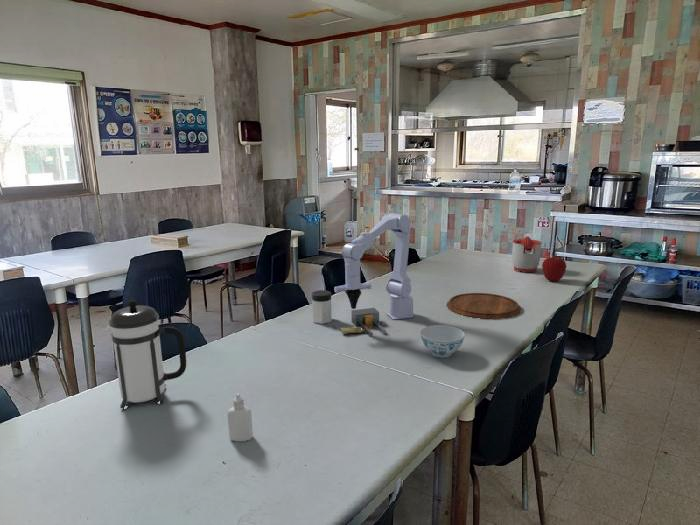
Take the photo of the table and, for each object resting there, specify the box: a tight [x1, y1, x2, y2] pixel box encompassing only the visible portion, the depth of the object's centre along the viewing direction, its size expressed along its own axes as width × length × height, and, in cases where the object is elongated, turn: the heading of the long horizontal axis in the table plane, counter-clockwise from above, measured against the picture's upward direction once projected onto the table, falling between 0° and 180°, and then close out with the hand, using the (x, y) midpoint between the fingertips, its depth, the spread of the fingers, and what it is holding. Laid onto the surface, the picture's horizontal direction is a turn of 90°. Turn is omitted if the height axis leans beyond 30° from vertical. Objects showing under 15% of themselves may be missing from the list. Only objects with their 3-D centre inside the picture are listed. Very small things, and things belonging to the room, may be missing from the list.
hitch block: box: [350, 307, 387, 338], centre depth 194 cm, size 10×18×5 cm, turn 17°
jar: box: [311, 289, 333, 325], centre depth 202 cm, size 9×8×12 cm
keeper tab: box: [339, 326, 366, 334], centre depth 189 cm, size 9×4×1 cm, turn 107°
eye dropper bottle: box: [227, 393, 254, 442], centre depth 120 cm, size 4×6×12 cm
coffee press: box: [104, 299, 187, 410], centre depth 139 cm, size 17×16×30 cm
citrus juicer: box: [511, 235, 543, 273], centre depth 276 cm, size 16×17×20 cm
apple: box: [541, 256, 567, 282], centre depth 255 cm, size 12×12×13 cm
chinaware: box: [420, 324, 466, 358], centre depth 168 cm, size 15×15×8 cm
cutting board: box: [446, 292, 522, 320], centre depth 216 cm, size 32×32×2 cm
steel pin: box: [363, 314, 374, 328], centre depth 200 cm, size 3×12×5 cm, turn 17°
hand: (353, 308), depth 190 cm, fingers closed
